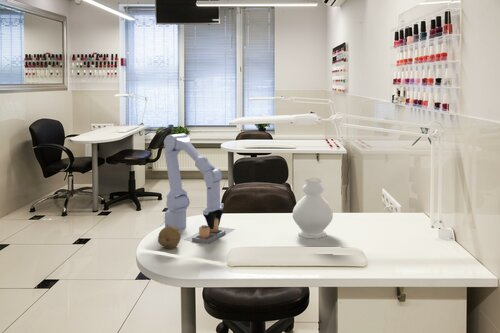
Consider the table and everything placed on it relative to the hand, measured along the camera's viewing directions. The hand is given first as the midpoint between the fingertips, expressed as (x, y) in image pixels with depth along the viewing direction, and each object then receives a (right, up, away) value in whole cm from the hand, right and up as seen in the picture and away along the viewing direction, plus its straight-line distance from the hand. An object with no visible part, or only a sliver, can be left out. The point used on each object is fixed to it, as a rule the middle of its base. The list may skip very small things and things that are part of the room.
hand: (213, 227), depth 230 cm
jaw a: (-3, -5, -6) cm, 9 cm away
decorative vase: (+44, -4, +6) cm, 44 cm away
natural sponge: (-17, -8, -16) cm, 24 cm away
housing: (-2, -5, +2) cm, 5 cm away
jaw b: (0, -2, 0) cm, 2 cm away
